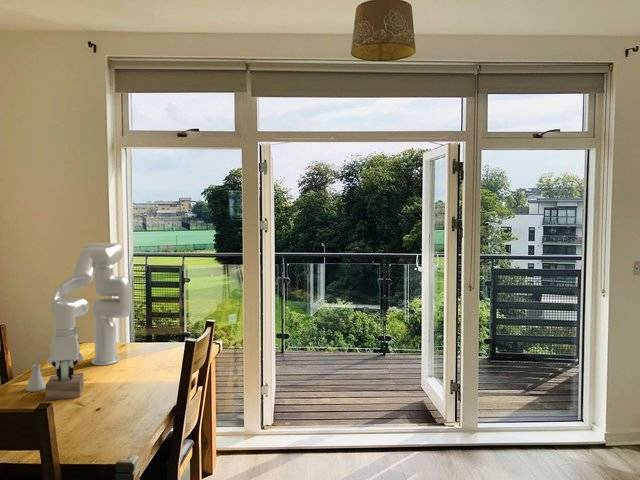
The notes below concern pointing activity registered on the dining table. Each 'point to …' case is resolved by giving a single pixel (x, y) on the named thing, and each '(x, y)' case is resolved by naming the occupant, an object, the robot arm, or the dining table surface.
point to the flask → (36, 380)
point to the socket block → (64, 387)
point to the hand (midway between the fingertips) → (65, 376)
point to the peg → (64, 370)
